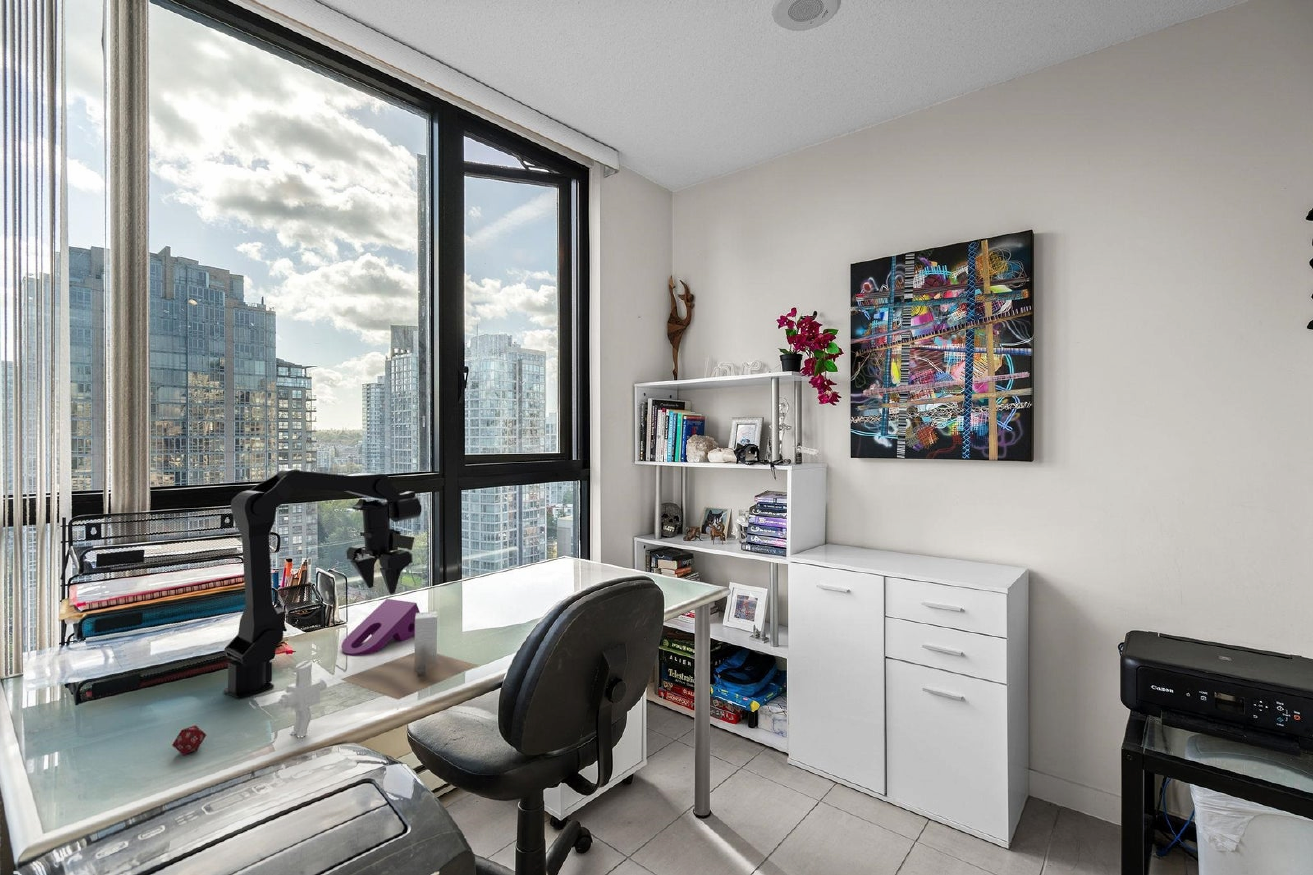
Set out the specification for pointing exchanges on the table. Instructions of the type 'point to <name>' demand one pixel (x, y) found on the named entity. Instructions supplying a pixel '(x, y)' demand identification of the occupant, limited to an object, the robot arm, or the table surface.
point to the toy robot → (302, 696)
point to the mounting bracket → (382, 627)
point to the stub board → (407, 675)
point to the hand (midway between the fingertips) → (381, 590)
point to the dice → (189, 740)
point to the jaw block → (425, 639)
